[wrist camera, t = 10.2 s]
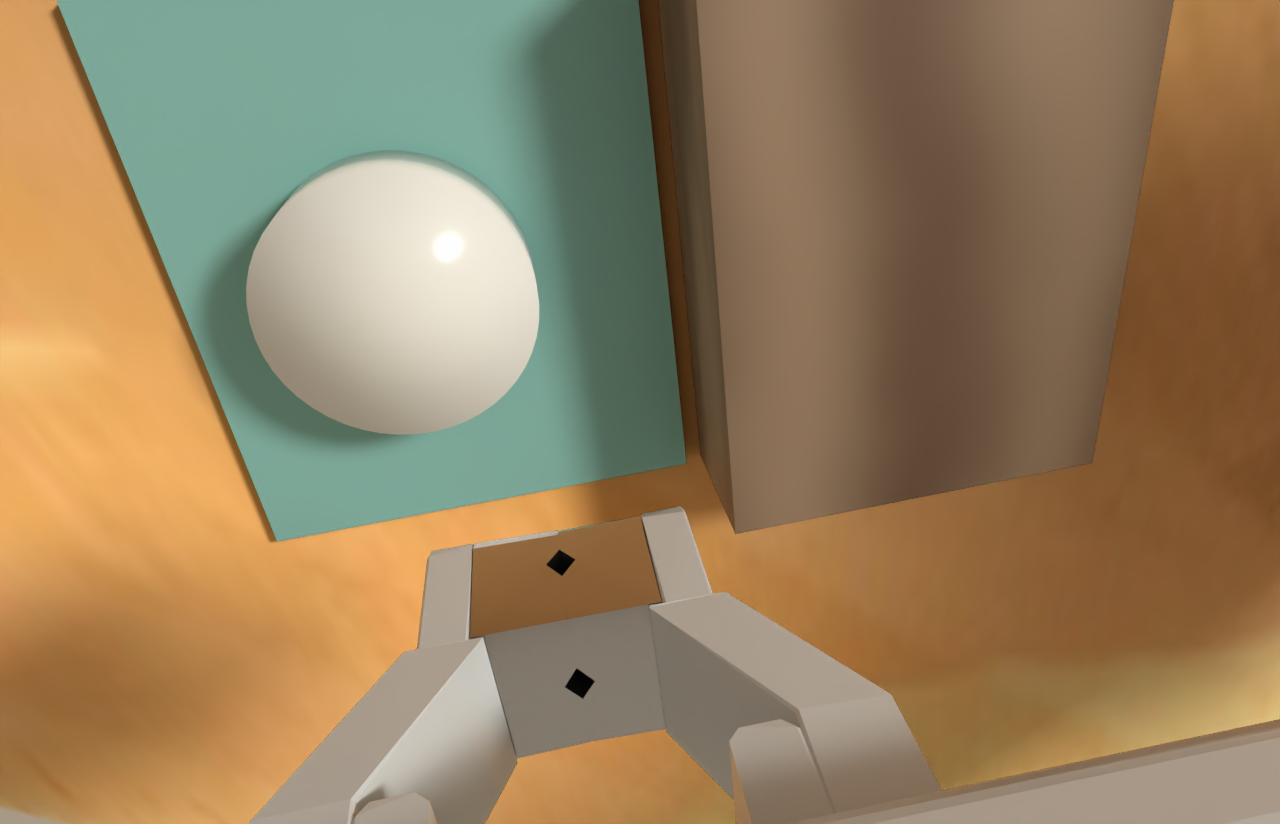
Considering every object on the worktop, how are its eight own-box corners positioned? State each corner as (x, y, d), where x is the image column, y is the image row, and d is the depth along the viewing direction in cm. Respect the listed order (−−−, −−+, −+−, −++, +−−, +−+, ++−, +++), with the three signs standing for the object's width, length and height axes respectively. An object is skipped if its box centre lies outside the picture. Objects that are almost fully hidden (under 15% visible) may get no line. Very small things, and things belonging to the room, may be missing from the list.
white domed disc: (181, 248, 18) (207, 221, 20) (349, 473, 21) (358, 434, 23) (456, 119, 18) (458, 102, 19) (583, 368, 21) (575, 336, 23)
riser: (1072, -132, 20) (1200, -151, 16) (1011, 396, 26) (1092, 463, 23) (650, -77, 19) (690, -85, 15) (700, 455, 25) (735, 533, 22)
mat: (628, -74, 19) (630, -74, 18) (684, 458, 25) (686, 463, 25) (63, 0, 18) (56, 0, 17) (279, 535, 24) (276, 541, 24)
